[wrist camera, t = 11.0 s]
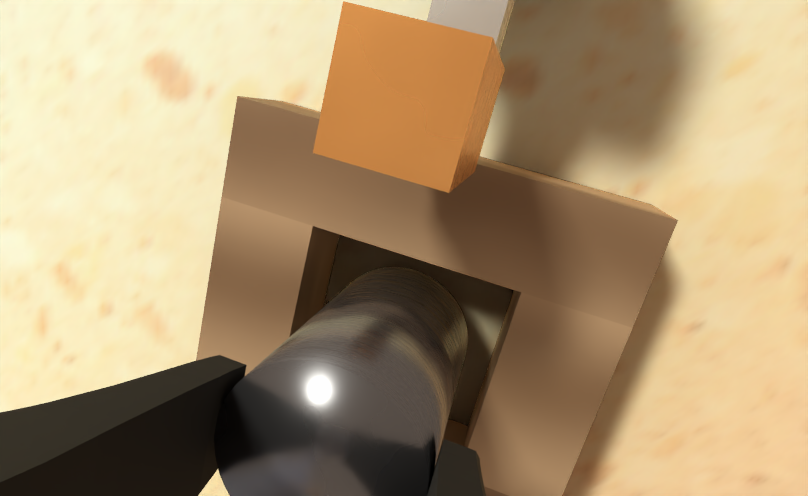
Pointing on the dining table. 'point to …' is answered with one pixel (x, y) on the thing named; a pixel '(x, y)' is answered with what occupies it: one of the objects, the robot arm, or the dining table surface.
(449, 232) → the socket block
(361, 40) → the lock pin
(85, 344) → the dining table surface
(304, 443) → the dark grey short cylinder
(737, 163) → the dining table surface
